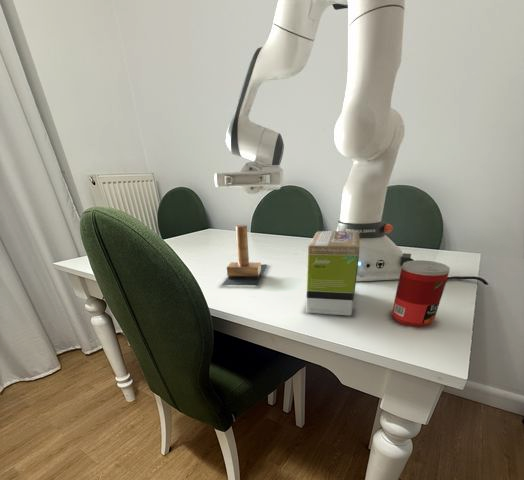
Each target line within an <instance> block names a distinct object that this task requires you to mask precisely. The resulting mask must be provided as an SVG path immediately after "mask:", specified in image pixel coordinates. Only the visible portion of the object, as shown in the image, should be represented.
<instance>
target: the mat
mask: <svg viewBox="0 0 524 480" xmlns="http://www.w3.org/2000/svg"><path fill="white" fill-rule="evenodd" d="M267 266H268V264H261V272H260V276H259V278H258V279H229V276H227V278H226V279H225V281H224V282H223V283H222V284H221V285H222V286H258V285H259V283H260V281H261V279H262V277H263V275H264V273H265V271H266V268H267Z"/></svg>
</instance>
